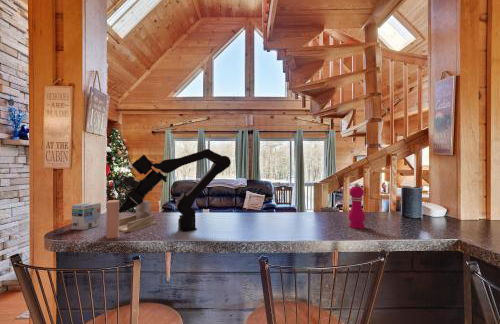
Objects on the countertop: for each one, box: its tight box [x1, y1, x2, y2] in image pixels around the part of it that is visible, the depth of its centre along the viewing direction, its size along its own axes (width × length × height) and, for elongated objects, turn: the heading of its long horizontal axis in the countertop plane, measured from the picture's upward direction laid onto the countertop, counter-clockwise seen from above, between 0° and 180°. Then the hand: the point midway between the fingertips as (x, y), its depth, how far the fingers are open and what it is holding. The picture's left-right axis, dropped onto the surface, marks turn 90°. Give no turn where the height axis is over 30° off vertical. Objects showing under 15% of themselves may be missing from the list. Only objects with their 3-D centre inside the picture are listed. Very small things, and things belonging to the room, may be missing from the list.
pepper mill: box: [347, 182, 366, 230], centre depth 128 cm, size 7×7×20 cm
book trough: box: [119, 200, 157, 233], centre depth 130 cm, size 12×18×11 cm, turn 165°
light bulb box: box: [71, 201, 102, 231], centre depth 129 cm, size 11×7×11 cm, turn 168°
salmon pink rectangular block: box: [106, 199, 120, 239], centre depth 114 cm, size 4×6×14 cm, turn 21°
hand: (120, 210), depth 114 cm, fingers open, 9 cm apart
